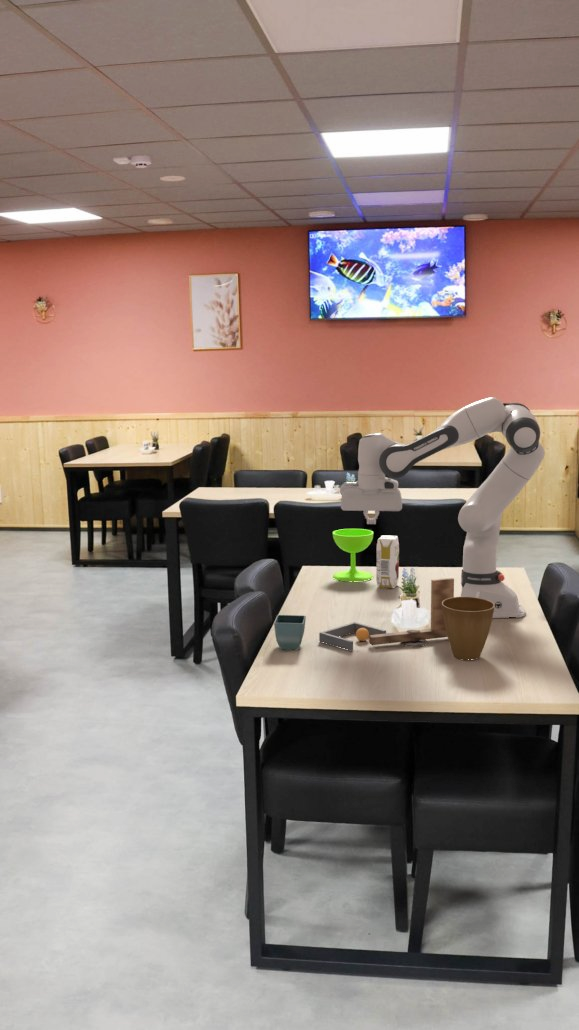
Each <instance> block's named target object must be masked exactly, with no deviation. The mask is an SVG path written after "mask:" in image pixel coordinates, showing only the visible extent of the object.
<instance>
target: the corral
mask: <svg viewBox="0 0 579 1030" xmlns="http://www.w3.org/2000/svg"><path fill="white" fill-rule="evenodd" d="M360 628H365V629H367V630H368V632H369V635H377V634H386V633H387V630H386V629H383V628H379V627H375V626H371V625H368V624H363V623H361V622H356V621H354V622H349V623H346V624H344V625H340V626H337V627H333V628H331V629H326V630H324V631H320V632H319V634H318V635H319V636H318V637H319V639H318V641H320V642H319V643H321V642H324V643H327V644H331V645H334V646H338V647H341V648H345V649H348V650H353V651H354V640H351V639H348V638H345V637H344V638H343V636H342V635H345V636H347V635H346V634H348V635H350V634H349V633H351V634H354V633H355V632H357V630H358V629H360ZM353 632H354V633H353ZM339 636H342V637H339ZM324 643H323V644H324ZM327 644H326V645H327ZM331 645H330V646H331ZM334 646H333V647H334ZM341 648H340V649H341Z"/></svg>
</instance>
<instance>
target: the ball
mask: <svg viewBox="0 0 579 1030" xmlns="http://www.w3.org/2000/svg"><path fill="white" fill-rule="evenodd" d="M355 637H356V638H357V640H358V641H360V642H364V641H367V640H369V632H368V630H367V629H365V628H360V629H358V630H357V632H356V633H355Z"/></svg>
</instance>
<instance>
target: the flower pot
mask: <svg viewBox="0 0 579 1030" xmlns="http://www.w3.org/2000/svg"><path fill="white" fill-rule="evenodd" d="M306 618H307V616H306V615H304V614H303V615H299V614H297V615H293V614H277V615H276V617H275V620H274V621H273V625H274V633H275V634H274V635H275V640H276V643H277V645H278V647H279V648H280V649H281V650H283V649H298V650H299V648H300V647H301V643H302V641H303V637H304V634H305V628H306V620H307V619H306Z"/></svg>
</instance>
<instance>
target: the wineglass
mask: <svg viewBox="0 0 579 1030" xmlns="http://www.w3.org/2000/svg"><path fill="white" fill-rule="evenodd" d="M332 538H333V541H334V543H335V544H336V546H338V548H339V549H340V550H342V552H343V551H344V552H346V553H349V554H350V568H349V570H341V571H338V572H336V573H334V574H333V576H332V579H333V578H335V579H337V580H341V581H340V582H342V581H352V582H351V583H355V582H354V581H364V580H368V579H371V578H372V577H373V578H374V575H373V574H372V573H370V572H368V571H363V570H357V565H356V563H357V562H356V553H357V554H358V553H360V552H363V551H365V550H366V549H367V548H368V547H369V546H370V545H371V543H372V542H373V539H374V531H373V530H371V529H366V528H365V529H364V528H343V529H342V528H341V529H338V530H337V529H336V530H333V531H332ZM335 579H334V580H335ZM337 580H336V581H337Z"/></svg>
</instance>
